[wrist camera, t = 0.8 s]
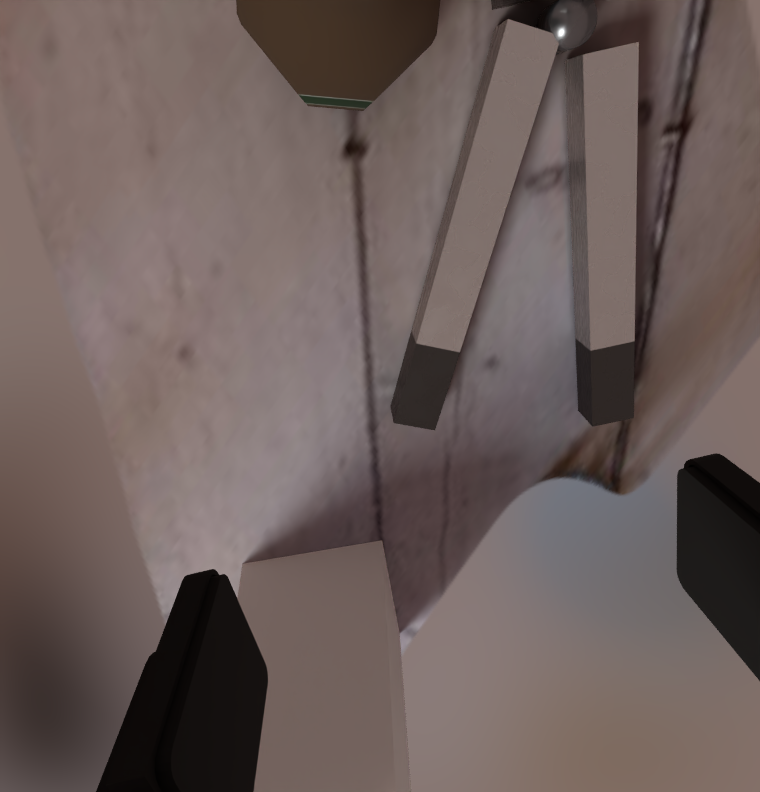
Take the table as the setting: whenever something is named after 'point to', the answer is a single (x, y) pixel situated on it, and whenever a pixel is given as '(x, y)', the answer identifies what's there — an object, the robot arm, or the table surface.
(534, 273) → the table surface
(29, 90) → the table surface
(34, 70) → the table surface
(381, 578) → the milk
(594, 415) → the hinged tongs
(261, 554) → the table surface
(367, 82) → the beer bottle
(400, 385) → the tongs arm
